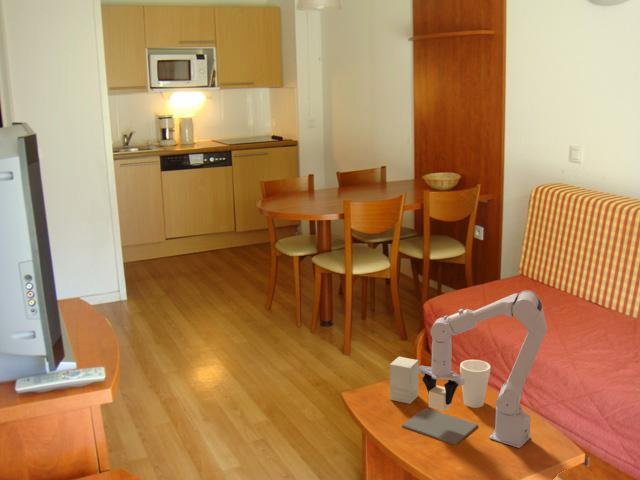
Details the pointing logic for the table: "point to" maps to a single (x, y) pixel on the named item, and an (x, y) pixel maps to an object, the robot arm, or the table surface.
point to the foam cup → (474, 382)
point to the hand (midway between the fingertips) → (440, 400)
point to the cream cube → (438, 398)
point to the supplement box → (404, 380)
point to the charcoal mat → (440, 426)
